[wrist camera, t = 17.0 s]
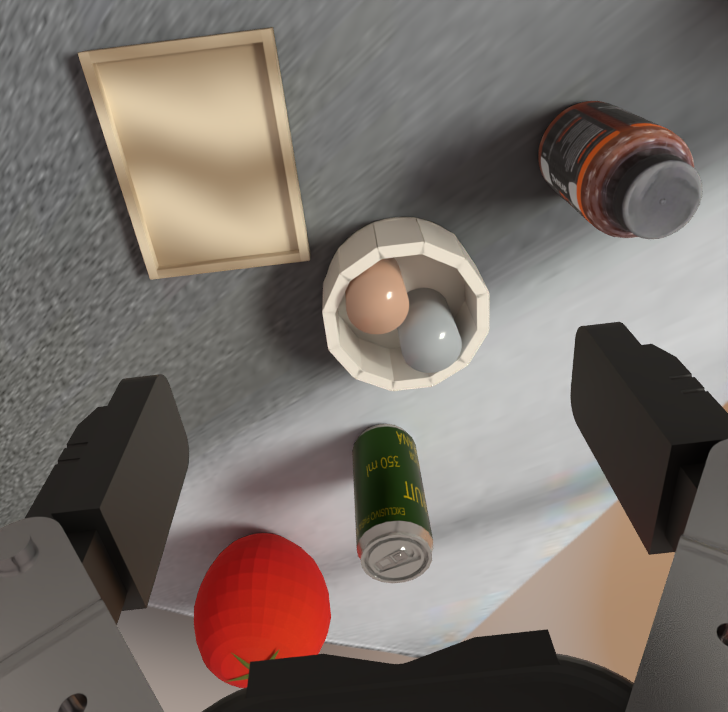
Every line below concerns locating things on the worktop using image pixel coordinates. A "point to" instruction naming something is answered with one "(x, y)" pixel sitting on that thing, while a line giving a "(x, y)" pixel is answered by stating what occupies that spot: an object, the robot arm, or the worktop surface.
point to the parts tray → (202, 150)
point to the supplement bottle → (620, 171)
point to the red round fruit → (260, 606)
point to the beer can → (390, 506)
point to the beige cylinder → (377, 298)
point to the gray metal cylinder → (429, 332)
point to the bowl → (419, 270)
